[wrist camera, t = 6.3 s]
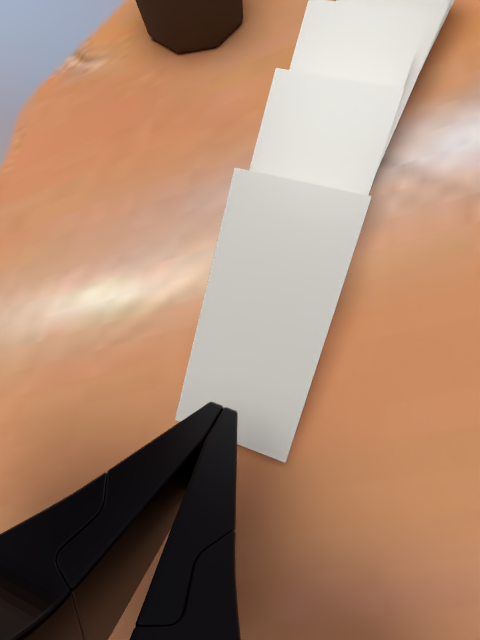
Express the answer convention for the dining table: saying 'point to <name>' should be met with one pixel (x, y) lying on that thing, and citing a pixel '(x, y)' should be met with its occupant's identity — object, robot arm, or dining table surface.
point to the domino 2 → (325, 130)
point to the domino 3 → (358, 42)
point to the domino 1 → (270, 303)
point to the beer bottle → (190, 22)
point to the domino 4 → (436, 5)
